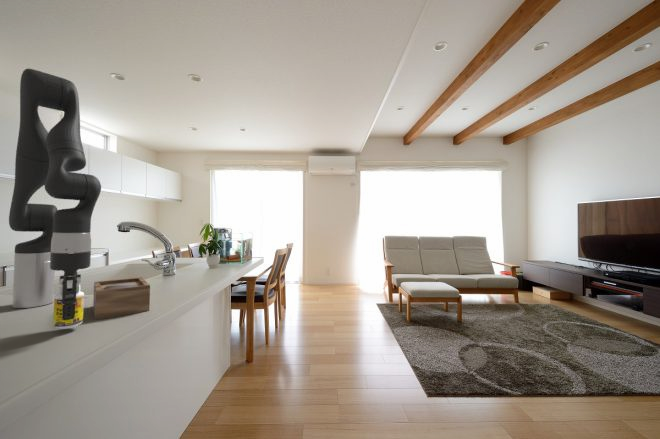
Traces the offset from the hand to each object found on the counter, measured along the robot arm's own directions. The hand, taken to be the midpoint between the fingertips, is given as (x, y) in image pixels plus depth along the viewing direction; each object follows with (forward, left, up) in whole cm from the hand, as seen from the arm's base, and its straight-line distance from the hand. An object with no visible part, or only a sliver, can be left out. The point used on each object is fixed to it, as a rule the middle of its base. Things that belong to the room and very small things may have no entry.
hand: (68, 315), depth 70 cm
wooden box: (-14, +12, -4) cm, 19 cm away
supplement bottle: (0, 0, -3) cm, 3 cm away
